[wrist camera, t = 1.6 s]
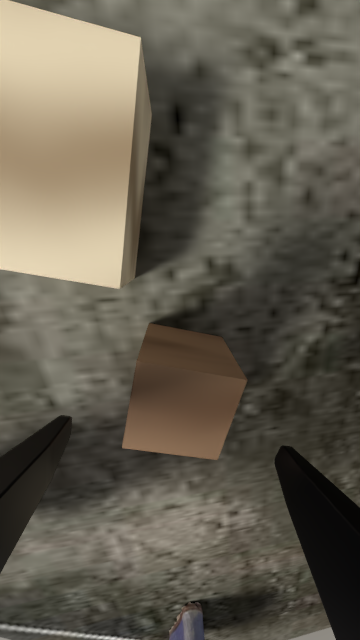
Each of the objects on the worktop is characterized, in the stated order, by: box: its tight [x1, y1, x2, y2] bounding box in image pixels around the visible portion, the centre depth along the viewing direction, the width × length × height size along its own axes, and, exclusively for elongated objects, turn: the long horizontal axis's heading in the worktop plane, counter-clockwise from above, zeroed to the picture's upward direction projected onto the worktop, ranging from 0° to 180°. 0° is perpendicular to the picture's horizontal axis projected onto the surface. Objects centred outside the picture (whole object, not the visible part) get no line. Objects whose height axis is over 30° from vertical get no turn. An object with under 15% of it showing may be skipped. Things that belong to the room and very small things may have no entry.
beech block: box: [0, 0, 152, 289], centre depth 9 cm, size 8×8×4 cm
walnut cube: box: [122, 323, 247, 460], centre depth 12 cm, size 5×5×5 cm
